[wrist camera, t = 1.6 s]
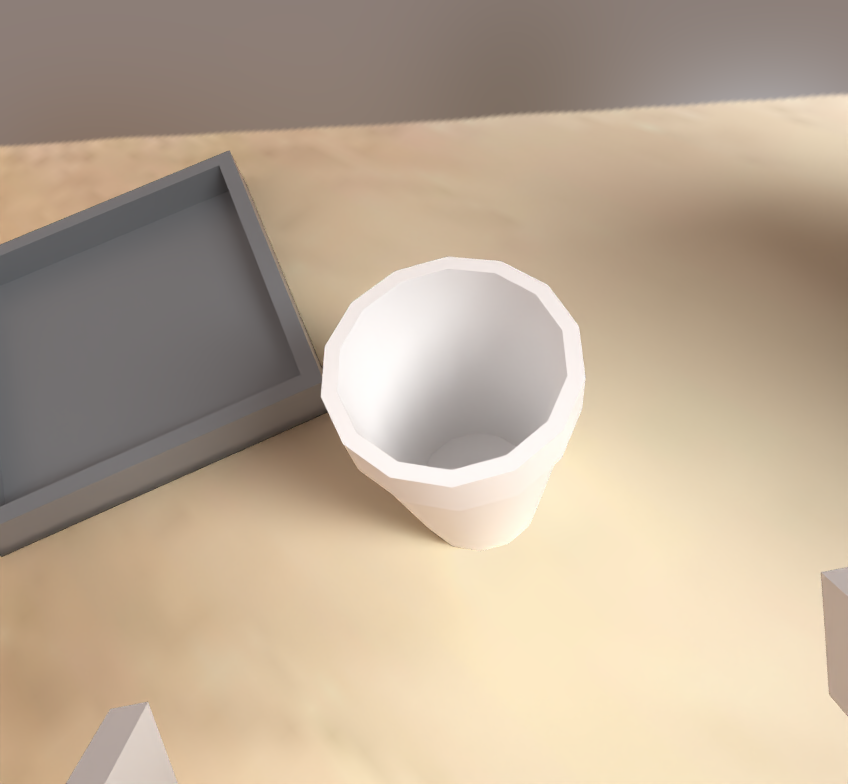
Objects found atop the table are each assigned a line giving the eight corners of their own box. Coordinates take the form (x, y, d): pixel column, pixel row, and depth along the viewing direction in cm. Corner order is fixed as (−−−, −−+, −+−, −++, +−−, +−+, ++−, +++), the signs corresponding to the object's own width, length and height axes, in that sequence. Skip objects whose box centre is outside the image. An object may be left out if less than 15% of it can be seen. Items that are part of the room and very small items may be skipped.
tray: (245, 183, 50) (229, 150, 47) (338, 407, 40) (323, 381, 37) (-25, 295, 48) (-58, 268, 46) (1, 556, 38) (-38, 540, 36)
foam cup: (436, 387, 39) (394, 231, 28) (596, 443, 36) (620, 294, 25) (358, 539, 36) (274, 430, 25) (528, 614, 33) (521, 530, 22)
